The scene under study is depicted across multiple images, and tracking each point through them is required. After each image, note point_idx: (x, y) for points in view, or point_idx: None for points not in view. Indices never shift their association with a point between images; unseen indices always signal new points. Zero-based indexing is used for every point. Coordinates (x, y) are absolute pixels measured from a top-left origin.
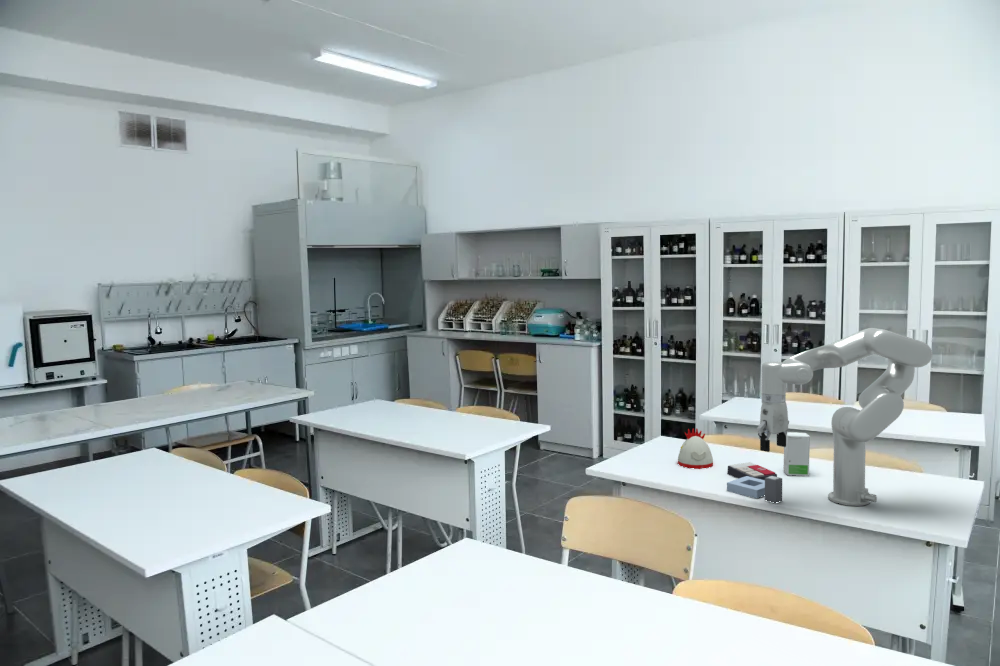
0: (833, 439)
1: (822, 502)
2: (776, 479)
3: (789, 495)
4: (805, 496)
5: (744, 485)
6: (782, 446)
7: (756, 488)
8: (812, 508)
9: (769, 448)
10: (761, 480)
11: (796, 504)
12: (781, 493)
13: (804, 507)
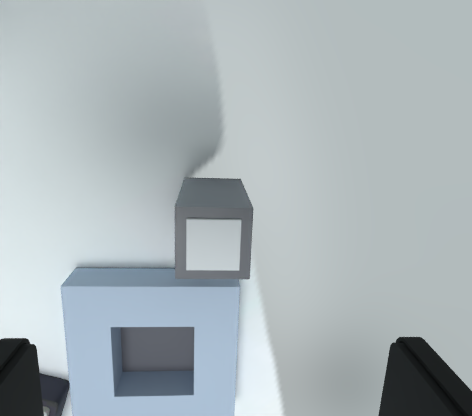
0: None
1: (46, 28)
2: (226, 217)
3: (79, 199)
4: (29, 138)
5: (215, 360)
6: (31, 369)
7: (215, 302)
8: (173, 20)
9: (428, 360)
10: (81, 354)
11: (176, 108)
12: (190, 185)
13: (188, 57)
